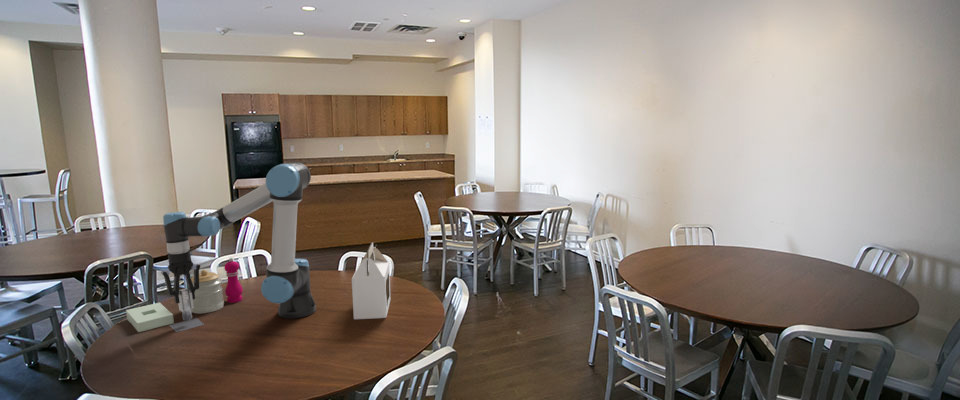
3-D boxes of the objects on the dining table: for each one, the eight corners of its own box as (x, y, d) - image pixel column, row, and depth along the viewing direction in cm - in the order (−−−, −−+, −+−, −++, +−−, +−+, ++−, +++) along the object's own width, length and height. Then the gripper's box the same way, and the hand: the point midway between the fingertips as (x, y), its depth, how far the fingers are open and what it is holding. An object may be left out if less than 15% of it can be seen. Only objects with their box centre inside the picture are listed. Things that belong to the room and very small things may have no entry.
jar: (194, 317, 205) (190, 276, 202) (187, 308, 215) (183, 269, 212) (228, 309, 213) (224, 270, 211) (220, 301, 223) (216, 263, 220)
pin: (193, 318, 195) (189, 289, 194) (184, 320, 193) (180, 291, 191) (190, 316, 198) (187, 287, 196) (182, 318, 195) (178, 290, 193)
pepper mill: (236, 303, 220) (232, 260, 217) (222, 302, 221) (218, 259, 218) (247, 298, 227) (243, 256, 224) (233, 297, 228) (229, 255, 225)
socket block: (174, 323, 198) (172, 314, 197) (138, 333, 189) (137, 323, 189) (160, 311, 212) (159, 302, 211) (127, 319, 203) (126, 310, 202)
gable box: (386, 318, 201) (383, 252, 197) (353, 320, 200) (350, 253, 196) (390, 299, 223) (388, 239, 219) (361, 300, 222) (358, 240, 218)
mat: (204, 325, 196) (204, 324, 196) (176, 333, 189) (176, 332, 189) (196, 318, 203) (196, 317, 203) (169, 326, 196) (168, 325, 196)
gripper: (198, 246, 199) (205, 301, 203) (152, 254, 188) (160, 312, 192) (204, 248, 194) (211, 305, 198) (157, 257, 183) (165, 317, 186)
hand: (186, 308), depth 195 cm, fingers closed on pin, 3 cm apart
